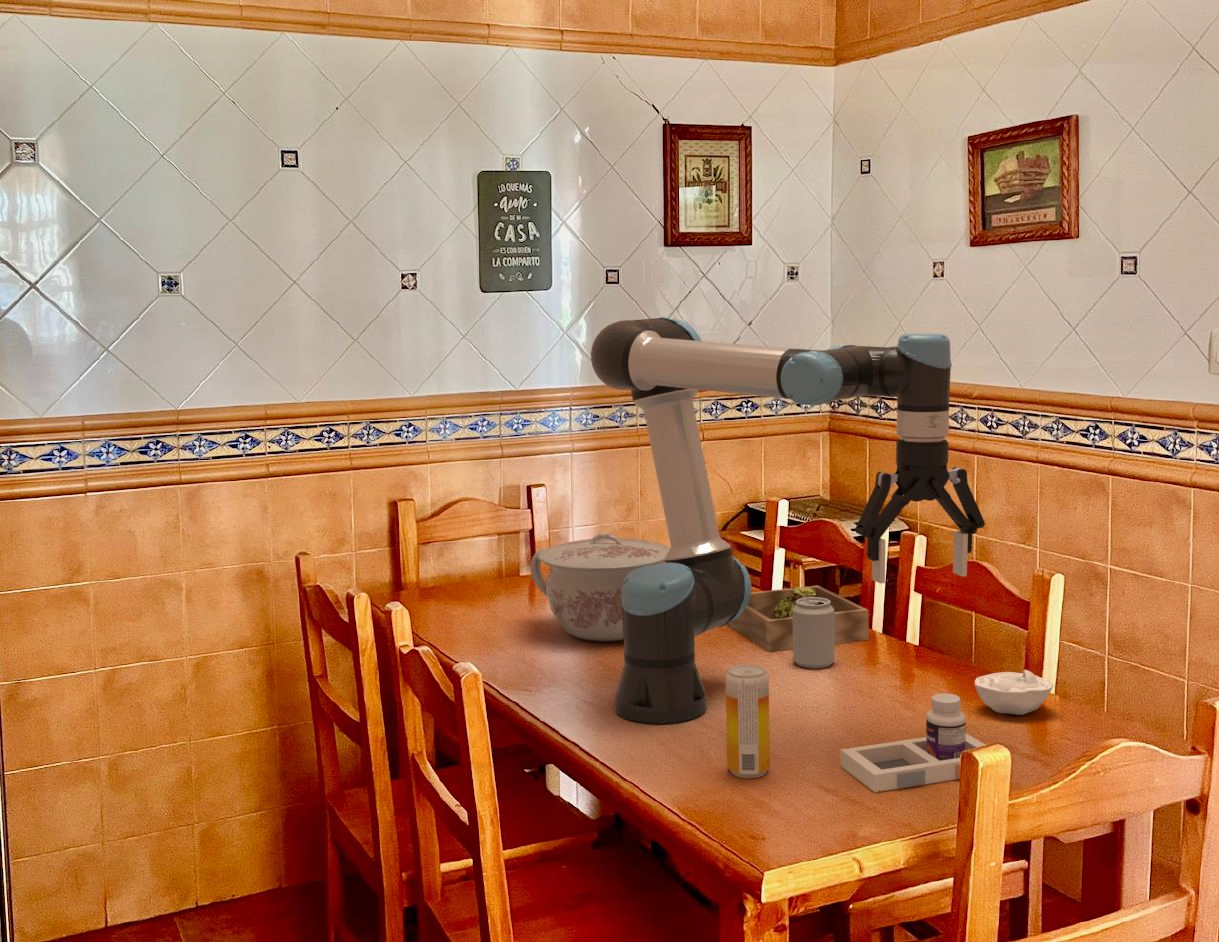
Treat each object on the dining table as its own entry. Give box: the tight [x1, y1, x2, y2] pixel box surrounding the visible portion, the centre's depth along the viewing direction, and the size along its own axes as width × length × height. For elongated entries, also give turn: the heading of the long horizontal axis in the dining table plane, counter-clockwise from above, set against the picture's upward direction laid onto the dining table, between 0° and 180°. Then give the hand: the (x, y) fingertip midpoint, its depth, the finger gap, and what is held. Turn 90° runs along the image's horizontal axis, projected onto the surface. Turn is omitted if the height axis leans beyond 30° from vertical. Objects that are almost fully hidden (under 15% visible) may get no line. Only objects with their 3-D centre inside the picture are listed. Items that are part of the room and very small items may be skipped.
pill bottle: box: [925, 692, 967, 761], centre depth 176 cm, size 5×5×10 cm
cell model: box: [974, 669, 1054, 716], centre depth 197 cm, size 10×12×7 cm
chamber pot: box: [529, 532, 670, 643], centre depth 250 cm, size 28×28×21 cm
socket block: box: [840, 733, 987, 793], centre depth 175 cm, size 20×10×2 cm, turn 107°
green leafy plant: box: [771, 585, 816, 619], centre depth 246 cm, size 17×16×10 cm
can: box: [792, 597, 836, 670], centre depth 225 cm, size 8×8×12 cm
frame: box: [726, 585, 870, 653], centre depth 247 cm, size 21×22×6 cm
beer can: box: [724, 664, 771, 779], centre depth 176 cm, size 6×6×15 cm
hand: (919, 578), depth 187 cm, fingers open, 13 cm apart
